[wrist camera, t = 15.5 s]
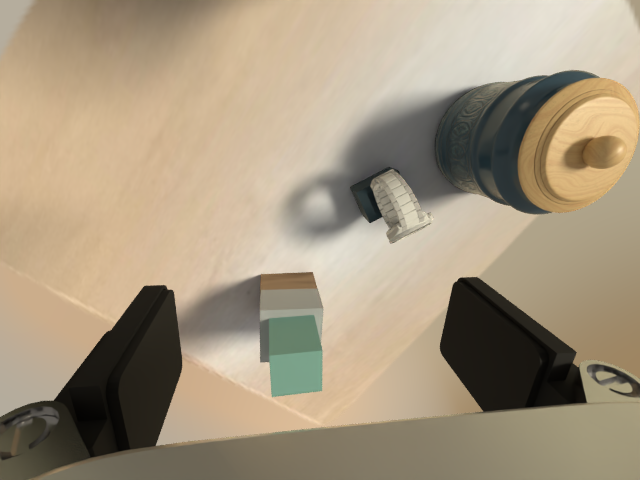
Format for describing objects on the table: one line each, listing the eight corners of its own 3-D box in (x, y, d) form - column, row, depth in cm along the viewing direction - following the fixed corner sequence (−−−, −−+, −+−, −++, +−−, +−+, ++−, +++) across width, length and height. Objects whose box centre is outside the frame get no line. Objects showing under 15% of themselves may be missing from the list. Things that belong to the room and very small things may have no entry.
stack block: (269, 318, 35) (269, 355, 30) (314, 314, 36) (322, 350, 30) (271, 355, 37) (271, 396, 31) (314, 350, 38) (322, 390, 32)
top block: (260, 289, 39) (259, 310, 35) (317, 288, 40) (323, 308, 36) (261, 337, 41) (260, 362, 37) (314, 335, 42) (319, 358, 38)
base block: (260, 273, 43) (260, 290, 39) (312, 271, 44) (317, 287, 40) (262, 318, 45) (262, 338, 41) (311, 315, 46) (315, 334, 42)
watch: (368, 228, 43) (399, 262, 33) (344, 174, 40) (370, 193, 30) (406, 209, 43) (449, 237, 32) (384, 153, 40) (424, 165, 29)
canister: (545, 106, 41) (731, 97, 24) (496, 202, 44) (629, 250, 28) (460, 66, 37) (609, 26, 21) (415, 173, 41) (512, 209, 25)
